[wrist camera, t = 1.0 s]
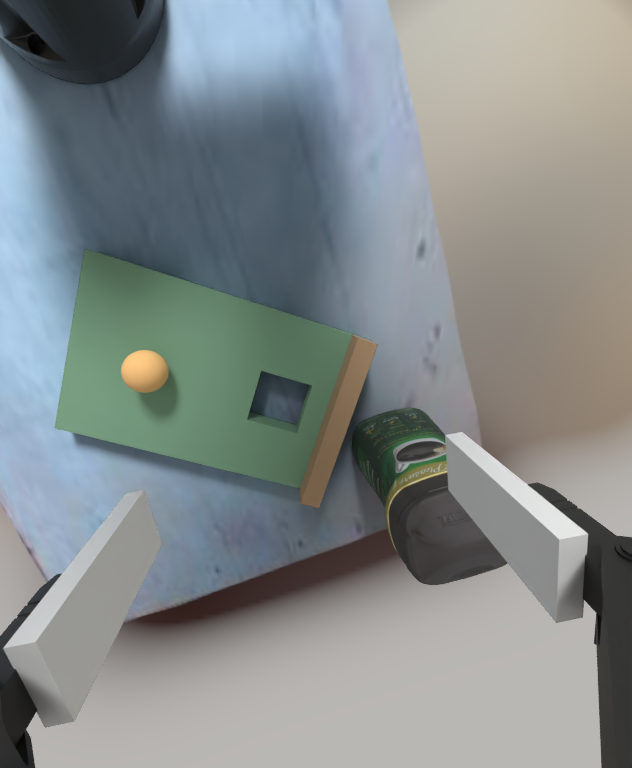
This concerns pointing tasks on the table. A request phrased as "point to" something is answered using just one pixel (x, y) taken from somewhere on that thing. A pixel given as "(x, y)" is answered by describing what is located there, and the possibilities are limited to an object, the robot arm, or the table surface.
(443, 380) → the table surface
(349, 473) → the table surface
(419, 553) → the coffee jar
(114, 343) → the putting board
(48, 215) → the table surface
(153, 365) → the ball
